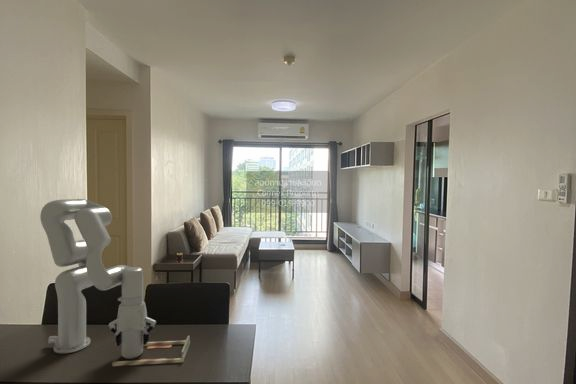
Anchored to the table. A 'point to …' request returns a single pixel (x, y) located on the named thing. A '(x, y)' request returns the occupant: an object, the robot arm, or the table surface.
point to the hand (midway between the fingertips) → (132, 343)
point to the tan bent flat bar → (161, 360)
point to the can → (132, 343)
